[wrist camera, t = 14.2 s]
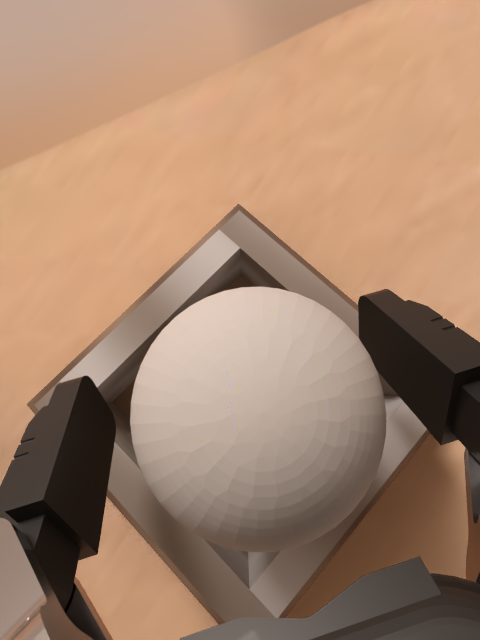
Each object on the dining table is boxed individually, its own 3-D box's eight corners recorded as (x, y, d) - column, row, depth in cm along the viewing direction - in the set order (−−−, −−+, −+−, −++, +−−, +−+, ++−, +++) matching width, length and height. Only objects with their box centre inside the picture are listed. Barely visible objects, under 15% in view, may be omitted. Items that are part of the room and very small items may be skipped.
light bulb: (217, 495, 14) (157, 717, 4) (166, 369, 15) (31, 323, 6) (339, 435, 15) (528, 514, 5) (280, 317, 16) (337, 192, 6)
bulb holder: (238, 216, 18) (237, 164, 14) (445, 393, 16) (514, 392, 12) (42, 403, 16) (-26, 406, 12) (250, 638, 14) (253, 739, 10)
